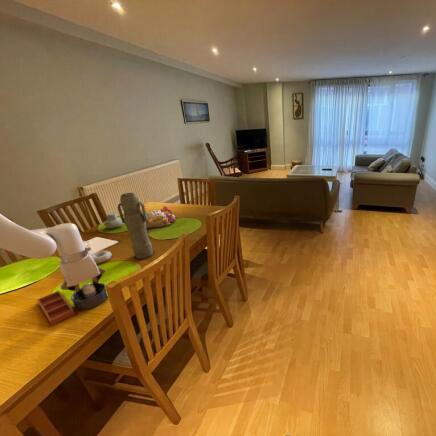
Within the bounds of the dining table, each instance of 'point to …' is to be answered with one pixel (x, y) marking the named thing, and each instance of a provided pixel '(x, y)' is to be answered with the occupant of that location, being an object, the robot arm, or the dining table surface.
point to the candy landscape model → (159, 218)
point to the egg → (89, 290)
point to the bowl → (90, 299)
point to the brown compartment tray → (55, 307)
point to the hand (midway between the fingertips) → (90, 293)
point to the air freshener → (112, 221)
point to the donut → (101, 256)
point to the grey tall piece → (136, 224)
